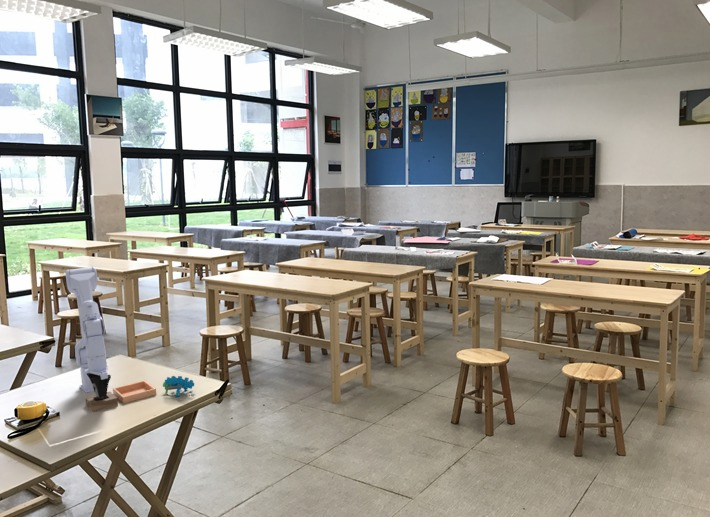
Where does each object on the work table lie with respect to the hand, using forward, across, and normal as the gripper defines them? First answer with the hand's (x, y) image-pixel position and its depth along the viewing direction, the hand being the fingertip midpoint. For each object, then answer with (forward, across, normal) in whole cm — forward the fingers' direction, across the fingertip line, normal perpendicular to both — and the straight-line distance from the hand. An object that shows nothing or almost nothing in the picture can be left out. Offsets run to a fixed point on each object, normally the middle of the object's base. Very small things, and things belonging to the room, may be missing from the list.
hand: (100, 394), depth 201 cm
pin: (+4, 0, 0) cm, 4 cm away
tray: (+4, -2, +12) cm, 12 cm away
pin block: (+4, 0, 0) cm, 4 cm away
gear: (+4, +7, +24) cm, 25 cm away
